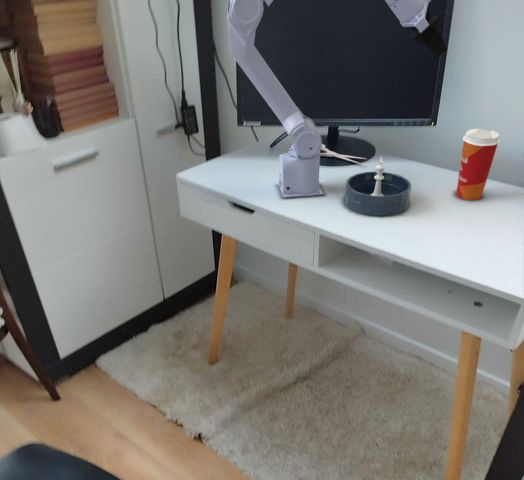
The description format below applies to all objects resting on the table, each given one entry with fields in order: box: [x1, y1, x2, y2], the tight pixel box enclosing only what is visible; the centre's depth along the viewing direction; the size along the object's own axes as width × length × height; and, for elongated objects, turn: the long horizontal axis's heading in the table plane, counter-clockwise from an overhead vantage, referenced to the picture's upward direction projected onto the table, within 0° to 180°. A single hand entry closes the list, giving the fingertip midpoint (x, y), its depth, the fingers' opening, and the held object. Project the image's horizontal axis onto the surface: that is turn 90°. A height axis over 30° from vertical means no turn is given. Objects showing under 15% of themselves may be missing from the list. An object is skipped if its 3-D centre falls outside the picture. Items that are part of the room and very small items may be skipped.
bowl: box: [344, 171, 412, 216], centre depth 123 cm, size 14×14×4 cm
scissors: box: [320, 143, 366, 165], centre depth 147 cm, size 11×1×20 cm
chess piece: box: [371, 156, 386, 196], centre depth 121 cm, size 5×5×10 cm
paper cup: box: [456, 128, 501, 201], centre depth 122 cm, size 8×8×14 cm
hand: (438, 46), depth 113 cm, fingers open, 7 cm apart
